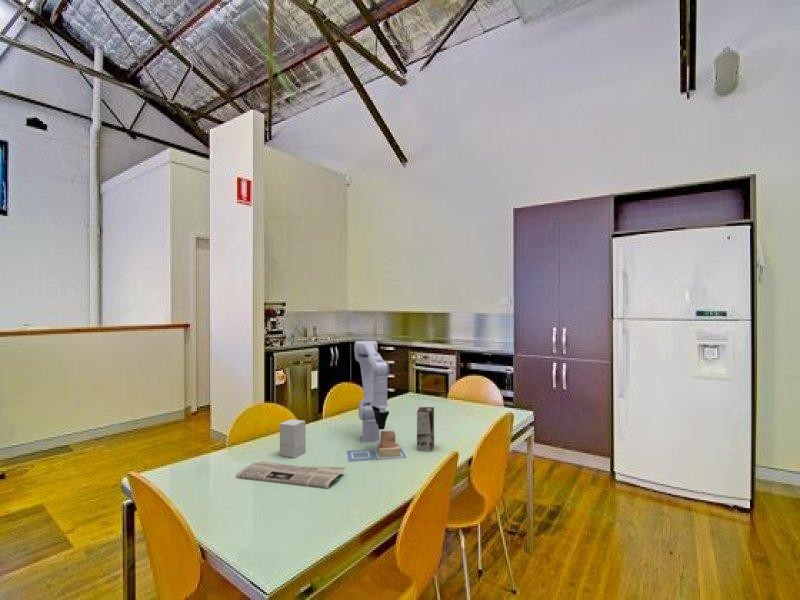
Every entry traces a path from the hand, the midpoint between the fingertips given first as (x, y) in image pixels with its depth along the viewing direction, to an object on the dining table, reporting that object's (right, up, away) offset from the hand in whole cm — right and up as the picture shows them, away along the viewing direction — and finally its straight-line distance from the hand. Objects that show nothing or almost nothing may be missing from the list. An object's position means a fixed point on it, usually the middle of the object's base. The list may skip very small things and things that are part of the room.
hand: (380, 426), depth 164 cm
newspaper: (-29, -11, -23) cm, 38 cm away
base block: (+3, -10, -2) cm, 11 cm away
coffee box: (+18, -11, +4) cm, 22 cm away
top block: (+3, -7, -2) cm, 8 cm away
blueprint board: (-2, -10, -3) cm, 11 cm away
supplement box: (-34, -11, -1) cm, 36 cm away
